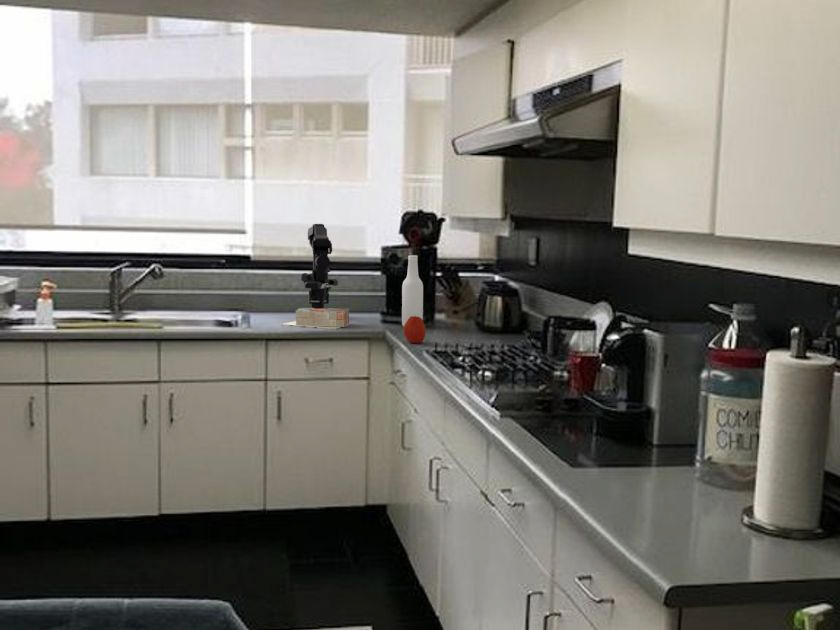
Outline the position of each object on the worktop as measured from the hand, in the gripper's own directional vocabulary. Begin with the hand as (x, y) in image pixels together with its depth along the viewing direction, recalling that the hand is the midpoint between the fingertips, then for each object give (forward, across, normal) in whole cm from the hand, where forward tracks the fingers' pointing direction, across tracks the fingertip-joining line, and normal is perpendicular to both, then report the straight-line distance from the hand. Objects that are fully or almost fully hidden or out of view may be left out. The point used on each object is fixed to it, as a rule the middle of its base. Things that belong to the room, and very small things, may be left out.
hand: (321, 303), depth 390 cm
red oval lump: (+9, +29, +56) cm, 63 cm away
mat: (+9, +6, 0) cm, 10 cm away
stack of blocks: (+5, -2, +1) cm, 5 cm away
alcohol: (+9, -10, +38) cm, 40 cm away
